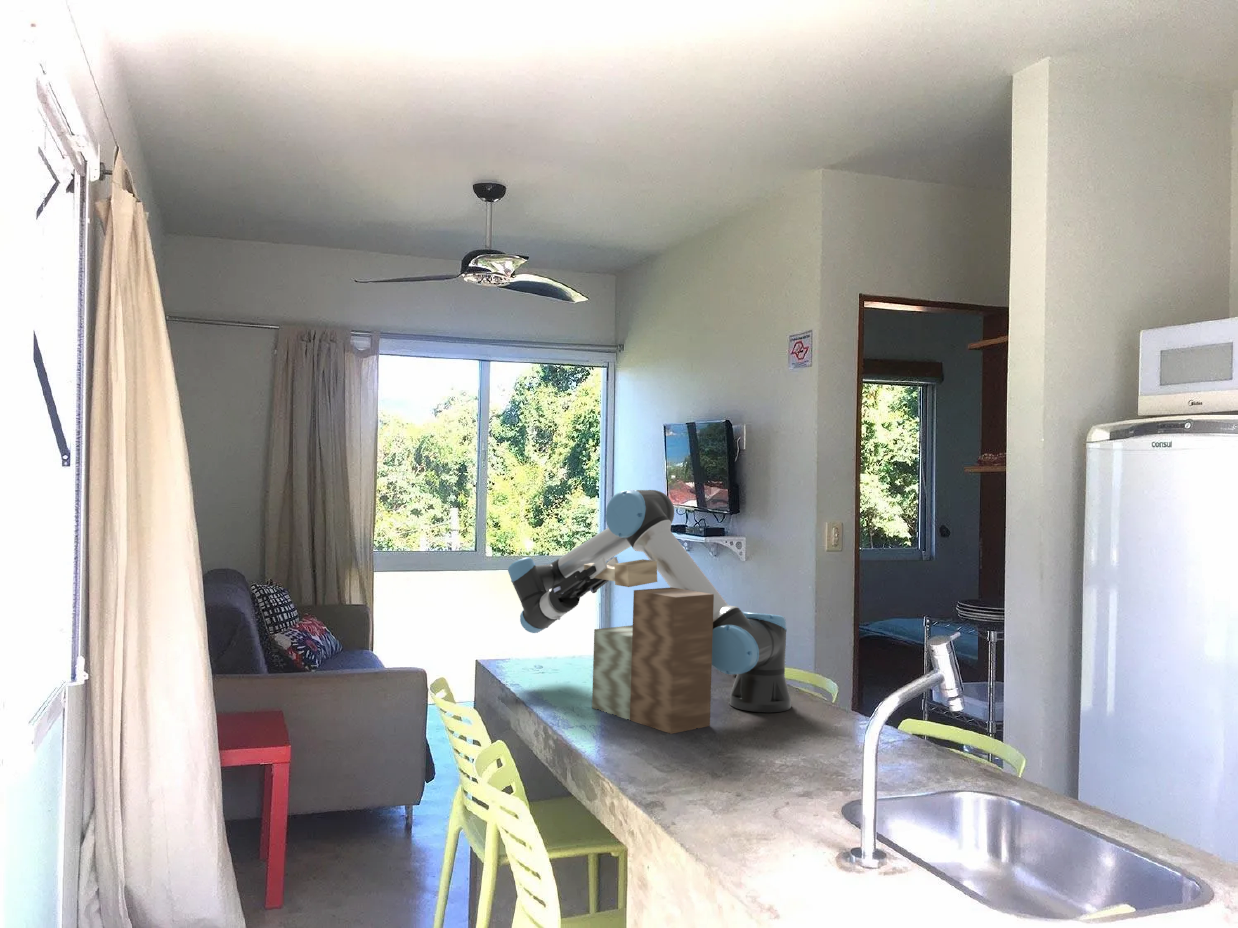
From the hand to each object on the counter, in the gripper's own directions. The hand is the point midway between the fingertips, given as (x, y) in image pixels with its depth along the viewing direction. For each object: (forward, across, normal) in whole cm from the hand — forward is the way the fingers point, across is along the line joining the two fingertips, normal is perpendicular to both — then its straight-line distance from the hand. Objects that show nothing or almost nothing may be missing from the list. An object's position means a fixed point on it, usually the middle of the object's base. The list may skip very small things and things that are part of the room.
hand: (610, 562), depth 246 cm
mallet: (0, 0, -4) cm, 4 cm away
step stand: (-4, 0, -38) cm, 38 cm away
